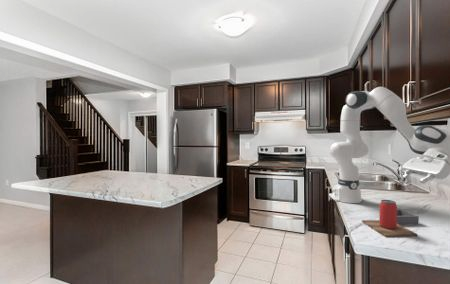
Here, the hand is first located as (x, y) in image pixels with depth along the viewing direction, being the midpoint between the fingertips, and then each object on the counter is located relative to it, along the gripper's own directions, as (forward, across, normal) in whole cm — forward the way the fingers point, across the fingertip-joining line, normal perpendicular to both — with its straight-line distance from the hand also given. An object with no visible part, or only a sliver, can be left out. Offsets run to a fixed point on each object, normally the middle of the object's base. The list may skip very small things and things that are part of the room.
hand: (412, 180), depth 105 cm
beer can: (+24, +1, +7) cm, 25 cm away
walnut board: (+24, +1, +8) cm, 25 cm away
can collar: (+15, -9, +17) cm, 24 cm away
